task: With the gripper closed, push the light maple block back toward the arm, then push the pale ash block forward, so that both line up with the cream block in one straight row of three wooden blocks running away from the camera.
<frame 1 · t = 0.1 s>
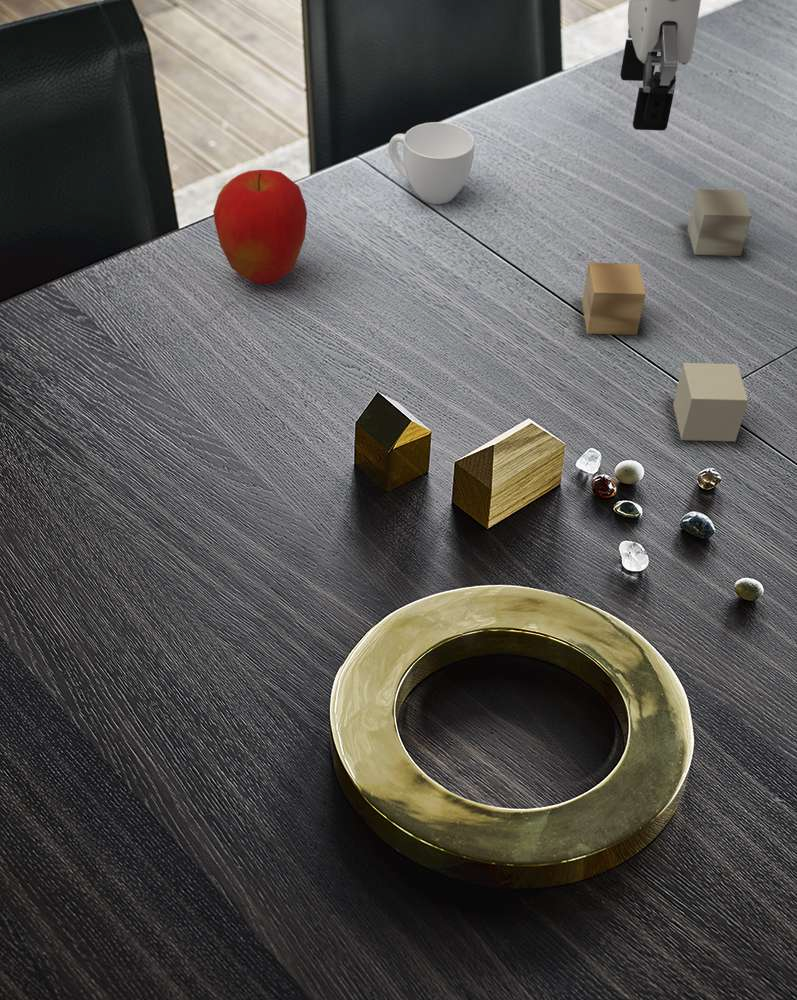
hand: (642, 103, 122), 17 cm above the table, tool pointing down, fingers open, 9 cm apart
maple block: (609, 319, 126), on the table
cup: (427, 192, 141), on the table
cream block: (703, 422, 115), on the table
ash block: (713, 242, 136), on the table
apple: (264, 276, 129), on the table
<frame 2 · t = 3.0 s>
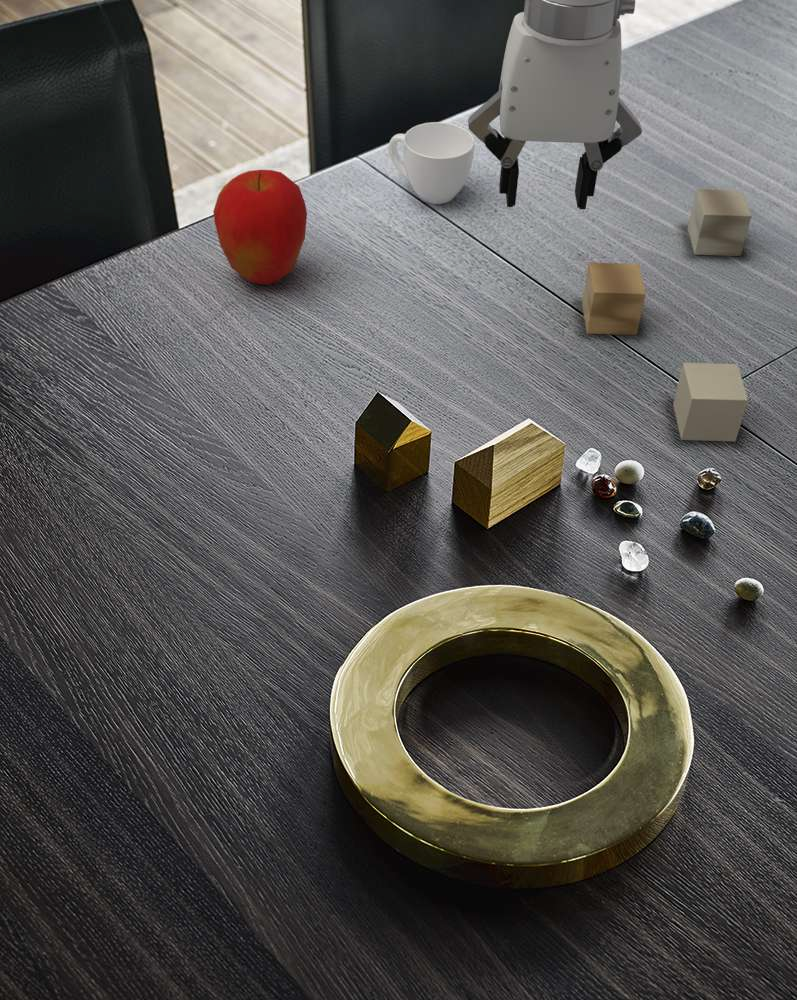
hand: (545, 198, 116), 14 cm above the table, tool pointing down, fingers open, 5 cm apart
nothing on the table moved.
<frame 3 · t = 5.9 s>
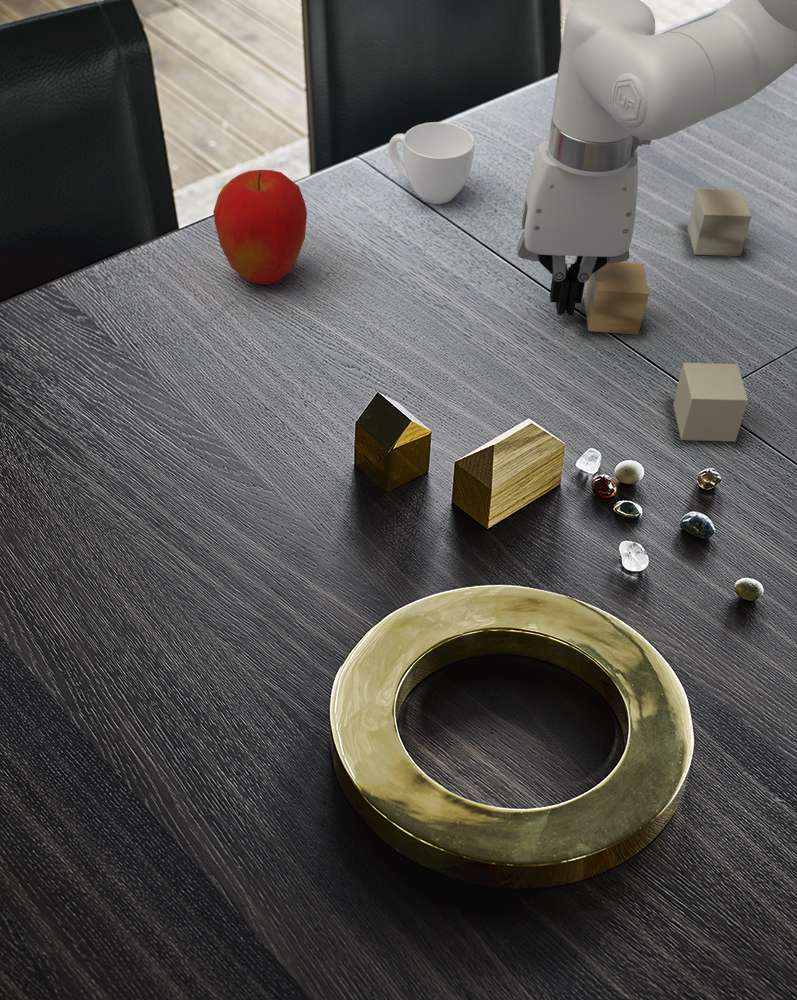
hand: (564, 306, 125), 1 cm above the table, tool pointing down, fingers closed
maple block: (610, 317, 126), on the table, touching gripper
everything else where it was.
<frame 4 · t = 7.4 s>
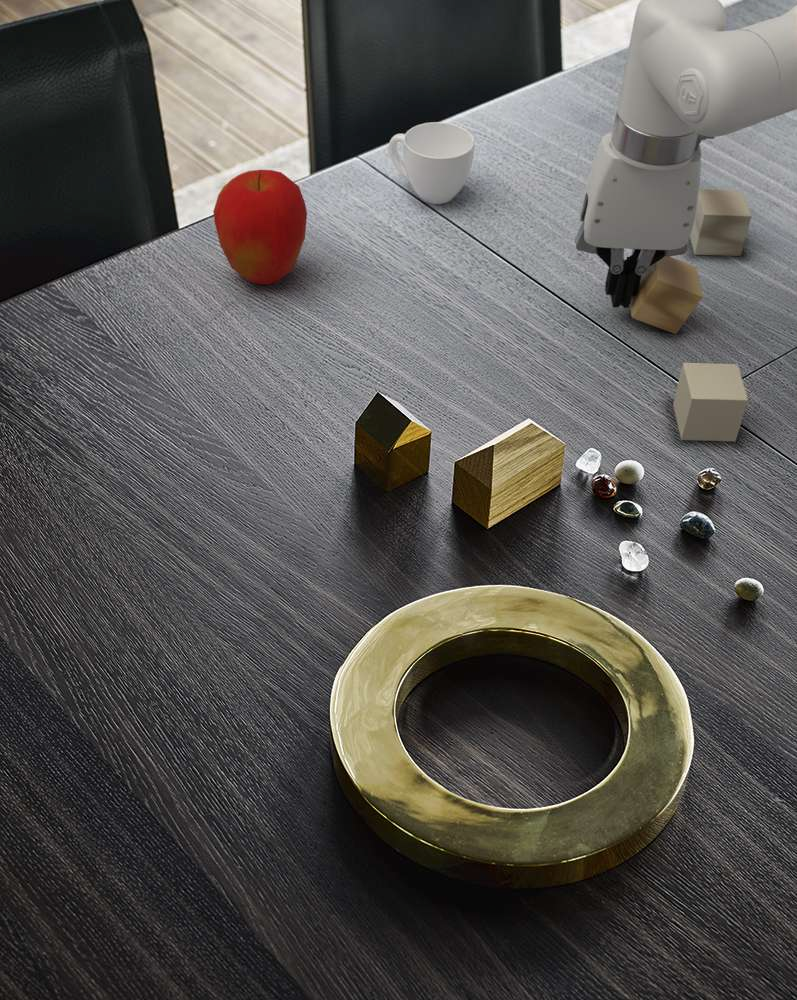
hand: (619, 298, 125), 2 cm above the table, tool pointing down, fingers closed
maple block: (651, 311, 125), point 1 cm above the table, tilted 20°, touching gripper
everything else where it was.
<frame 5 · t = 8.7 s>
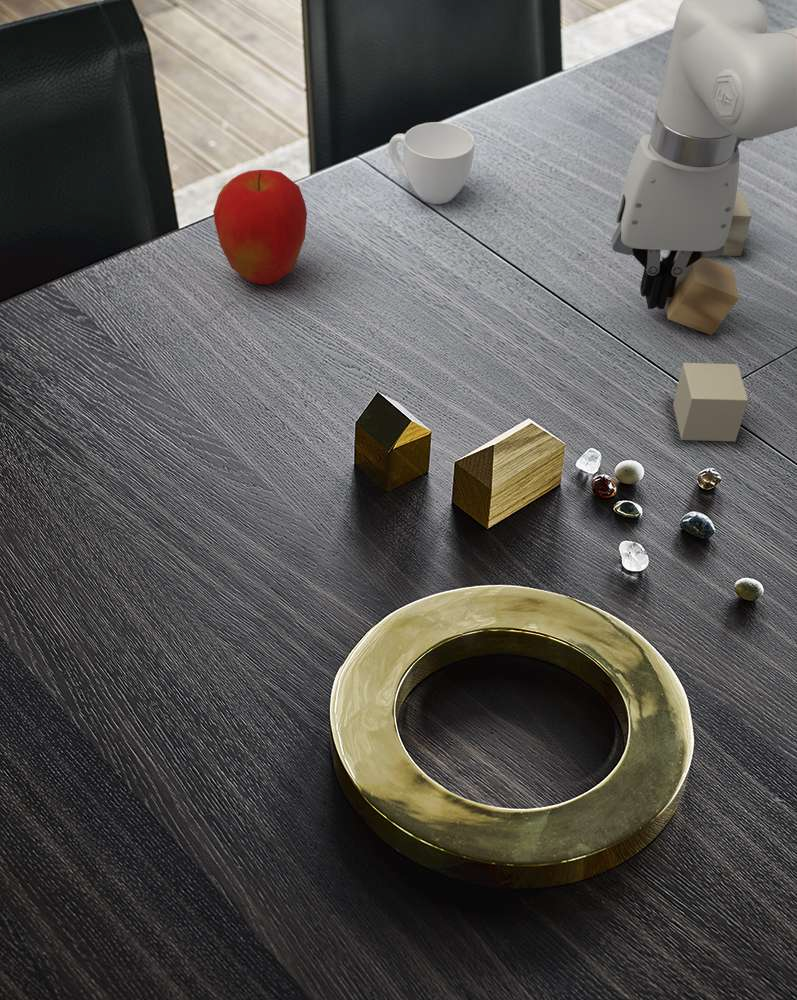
hand: (654, 300, 125), 2 cm above the table, tool pointing down, fingers closed
maple block: (686, 312, 126), point 1 cm above the table, tilted 20°, touching gripper
everything else where it was.
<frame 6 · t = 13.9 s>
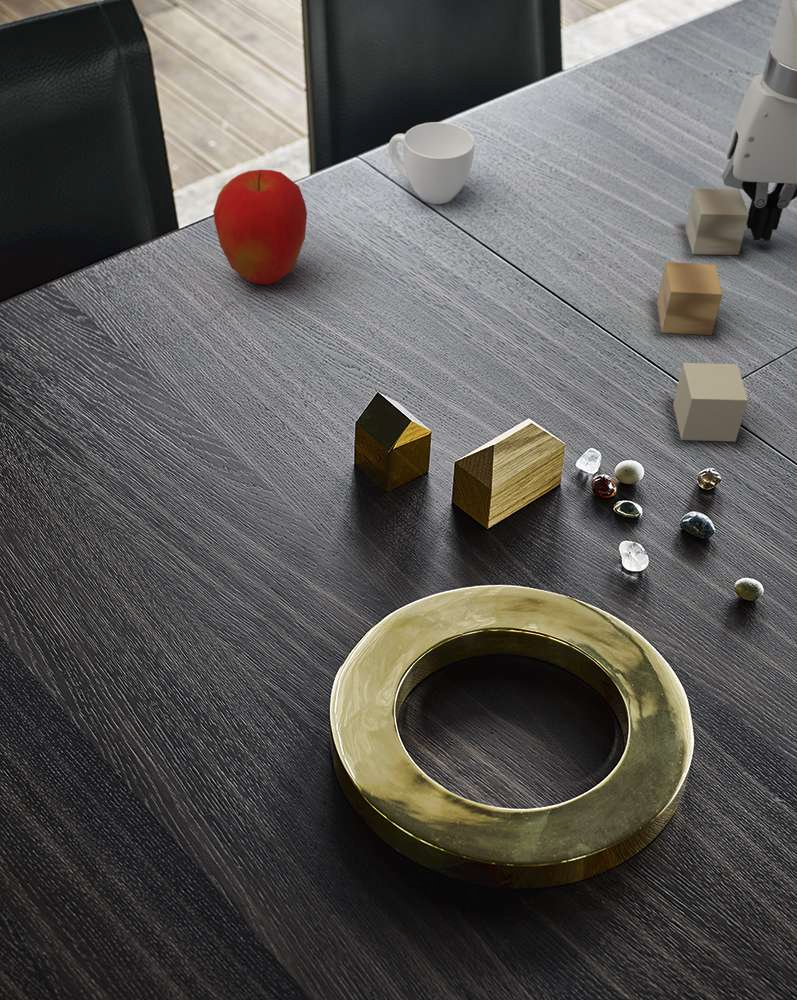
hand: (759, 233, 135), 1 cm above the table, tool pointing down, fingers closed
maple block: (683, 318, 126), on the table
ash block: (711, 241, 136), on the table, touching gripper
everything else where it was.
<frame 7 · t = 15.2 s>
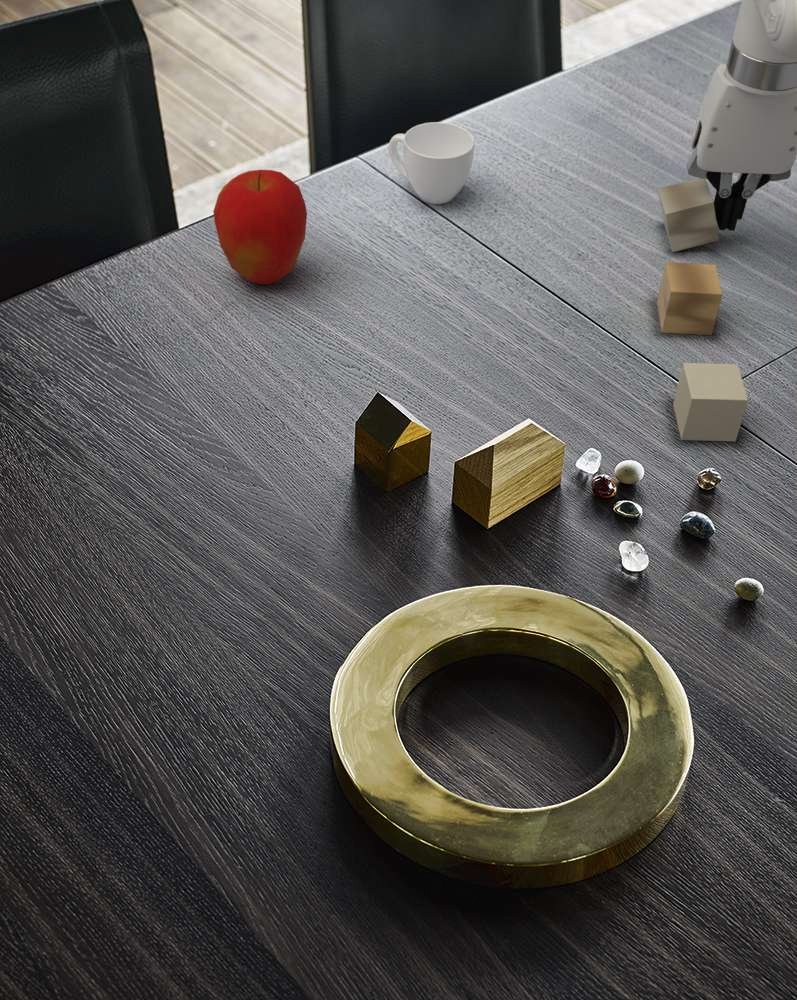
hand: (724, 223, 135), 2 cm above the table, tool pointing down, fingers closed
ash block: (691, 233, 136), point 1 cm above the table, tilted 19°, touching gripper
everything else where it was.
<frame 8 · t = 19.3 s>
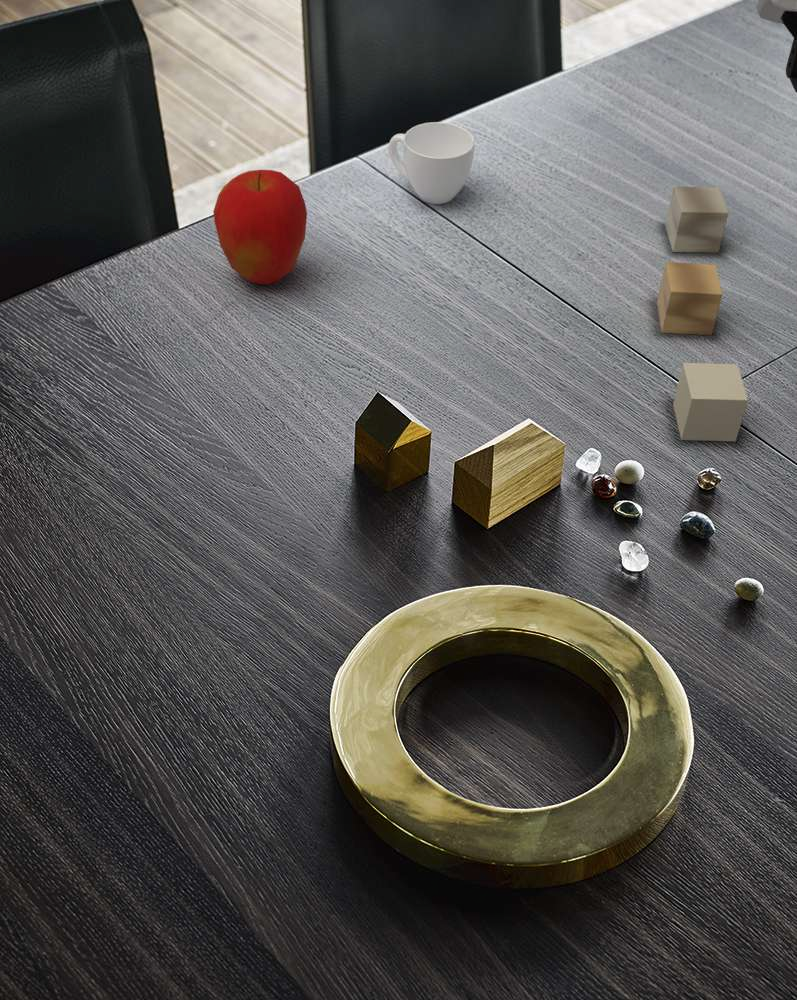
ash block: (691, 239, 136), on the table
everything else where it was.
at the end: maple block 1.2 cm from the target spot on the table beside the cream block, on the table; ash block 0.6 cm from the target spot on the table beside the cream block, on the table; cream block moved 0.0 cm from its start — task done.
